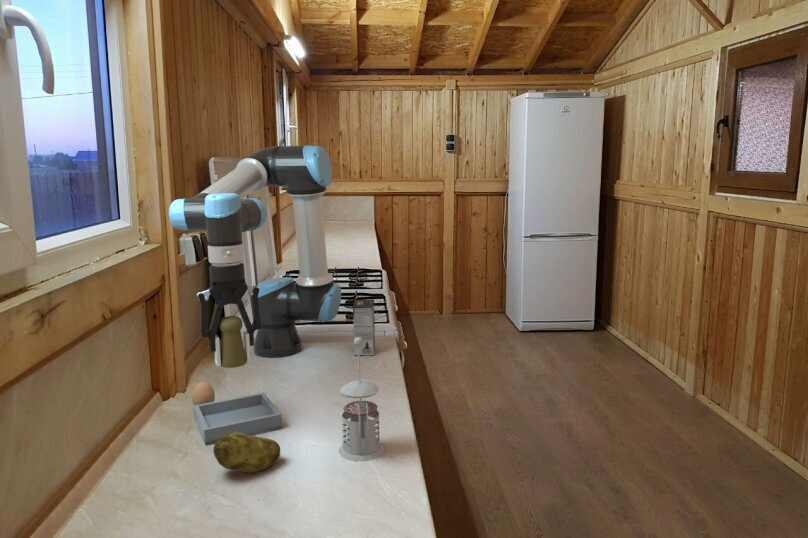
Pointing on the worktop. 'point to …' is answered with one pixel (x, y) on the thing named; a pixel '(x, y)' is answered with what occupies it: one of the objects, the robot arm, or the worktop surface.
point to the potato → (246, 452)
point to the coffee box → (364, 326)
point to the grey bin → (236, 417)
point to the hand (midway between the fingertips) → (233, 361)
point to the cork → (231, 342)
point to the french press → (360, 421)
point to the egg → (203, 394)
